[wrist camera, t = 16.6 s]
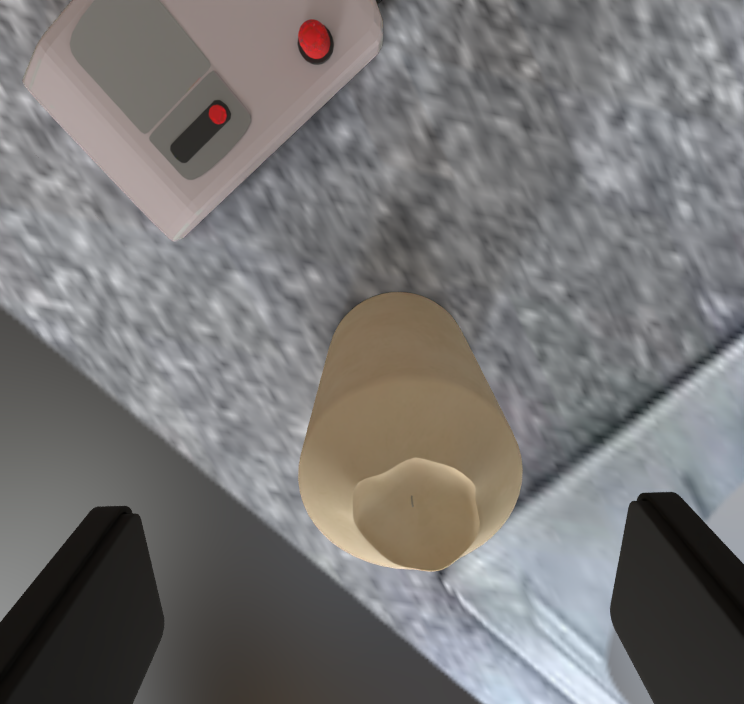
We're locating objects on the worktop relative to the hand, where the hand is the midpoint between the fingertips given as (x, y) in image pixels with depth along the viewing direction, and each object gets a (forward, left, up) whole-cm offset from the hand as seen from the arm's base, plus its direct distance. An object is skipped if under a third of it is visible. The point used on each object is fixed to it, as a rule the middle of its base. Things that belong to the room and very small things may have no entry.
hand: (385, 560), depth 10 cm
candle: (-1, 0, -12) cm, 12 cm away
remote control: (+5, -11, -12) cm, 17 cm away
